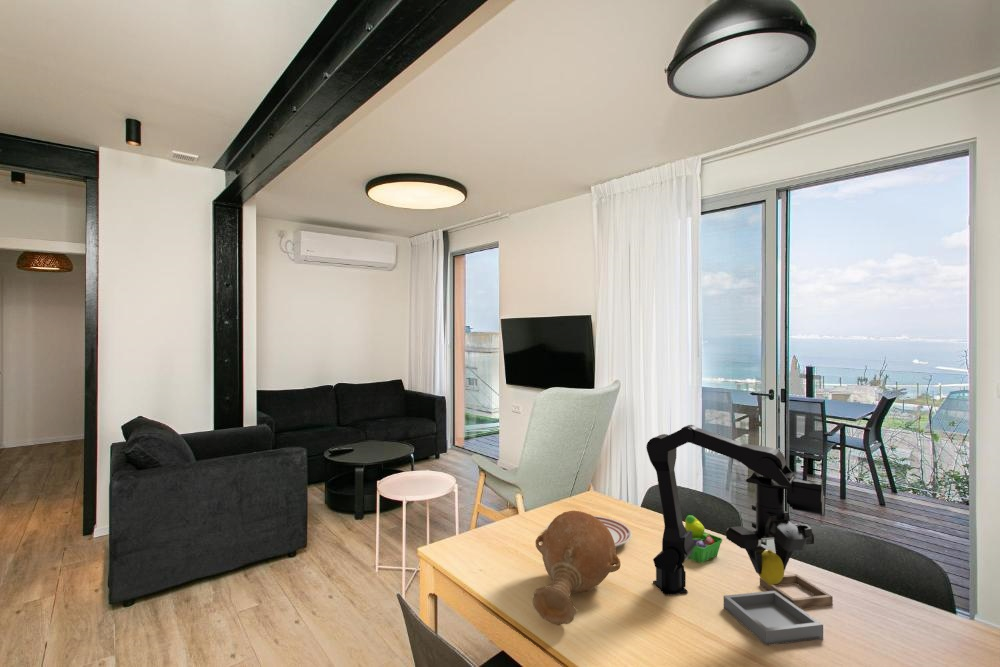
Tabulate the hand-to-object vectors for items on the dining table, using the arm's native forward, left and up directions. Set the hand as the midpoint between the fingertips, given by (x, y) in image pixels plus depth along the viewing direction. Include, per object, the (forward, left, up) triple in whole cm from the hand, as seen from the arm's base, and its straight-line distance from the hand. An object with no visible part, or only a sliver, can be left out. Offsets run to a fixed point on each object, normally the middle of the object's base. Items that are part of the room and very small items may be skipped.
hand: (769, 572), depth 106 cm
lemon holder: (+15, +9, -11) cm, 21 cm away
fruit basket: (+4, +33, -12) cm, 36 cm away
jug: (-42, +19, -12) cm, 48 cm away
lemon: (0, 0, -3) cm, 3 cm away
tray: (0, 0, -11) cm, 11 cm away
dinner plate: (-25, +50, -12) cm, 57 cm away
